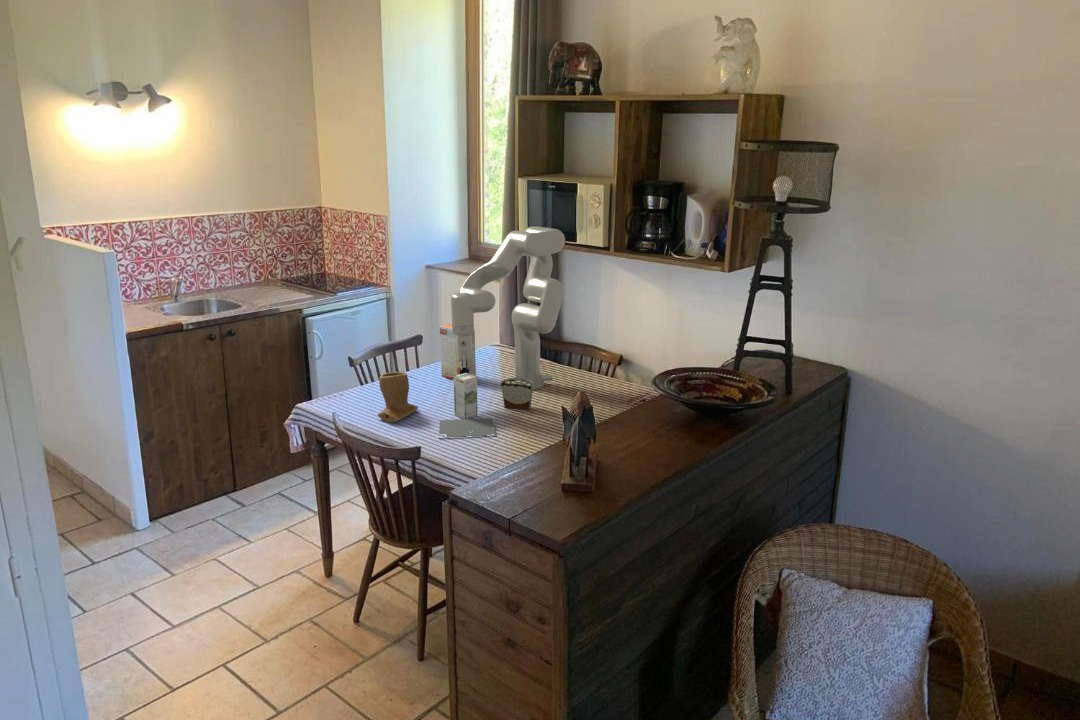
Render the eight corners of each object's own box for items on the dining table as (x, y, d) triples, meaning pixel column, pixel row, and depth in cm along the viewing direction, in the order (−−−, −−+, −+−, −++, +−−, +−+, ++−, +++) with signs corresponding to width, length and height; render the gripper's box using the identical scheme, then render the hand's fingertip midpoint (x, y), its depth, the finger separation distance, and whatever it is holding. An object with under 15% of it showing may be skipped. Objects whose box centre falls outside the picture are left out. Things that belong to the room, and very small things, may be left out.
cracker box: (477, 380, 306) (475, 328, 300) (465, 384, 302) (463, 331, 296) (452, 373, 315) (450, 322, 309) (441, 376, 311) (438, 325, 305)
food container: (539, 406, 280) (539, 379, 277) (533, 412, 274) (533, 384, 271) (506, 402, 283) (506, 375, 280) (500, 408, 278) (499, 381, 275)
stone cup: (394, 406, 280) (391, 365, 276) (422, 410, 276) (420, 370, 271) (368, 420, 267) (365, 378, 263) (397, 425, 262) (395, 383, 258)
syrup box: (467, 411, 275) (466, 371, 270) (478, 415, 271) (477, 375, 266) (454, 415, 271) (452, 375, 267) (465, 420, 267) (463, 379, 263)
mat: (493, 419, 268) (493, 417, 268) (495, 436, 253) (495, 434, 253) (439, 421, 266) (439, 420, 266) (439, 439, 252) (439, 437, 251)
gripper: (474, 334, 264) (476, 386, 270) (473, 323, 278) (474, 372, 284) (452, 335, 263) (454, 387, 269) (452, 323, 278) (453, 373, 283)
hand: (464, 379), depth 276 cm, fingers closed
